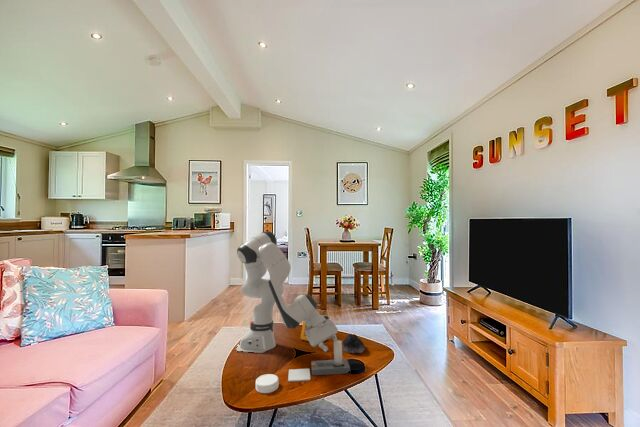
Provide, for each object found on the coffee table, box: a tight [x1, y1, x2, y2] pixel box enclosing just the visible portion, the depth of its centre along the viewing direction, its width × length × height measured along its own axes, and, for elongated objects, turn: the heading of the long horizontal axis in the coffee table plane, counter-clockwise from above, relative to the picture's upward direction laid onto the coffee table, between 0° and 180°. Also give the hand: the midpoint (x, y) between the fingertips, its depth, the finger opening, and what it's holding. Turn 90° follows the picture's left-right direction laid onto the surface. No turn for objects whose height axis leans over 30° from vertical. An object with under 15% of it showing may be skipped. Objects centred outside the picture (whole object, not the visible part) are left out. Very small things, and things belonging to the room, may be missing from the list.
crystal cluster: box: [342, 333, 366, 354], centre depth 164 cm, size 13×14×10 cm
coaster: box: [255, 373, 280, 394], centre depth 127 cm, size 10×10×4 cm
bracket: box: [300, 321, 309, 342], centre depth 180 cm, size 11×7×12 cm, turn 144°
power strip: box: [310, 358, 351, 376], centre depth 141 cm, size 18×9×3 cm, turn 94°
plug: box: [332, 339, 344, 367], centre depth 142 cm, size 6×6×13 cm
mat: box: [287, 368, 311, 383], centre depth 136 cm, size 10×10×1 cm
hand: (332, 347), depth 143 cm, fingers open, 8 cm apart
